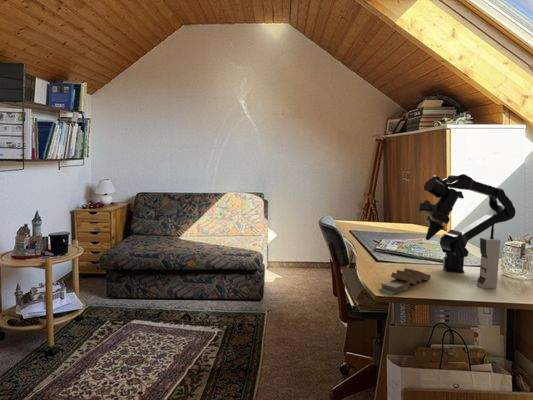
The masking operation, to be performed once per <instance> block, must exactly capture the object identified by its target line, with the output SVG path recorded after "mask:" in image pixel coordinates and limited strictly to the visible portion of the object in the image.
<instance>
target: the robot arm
mask: <svg viewBox="0 0 533 400" xmlns="http://www.w3.org/2000/svg"><path fill="white" fill-rule="evenodd" d="M423 190H424V191H425V192H426V193H428V194H430V195H431V196H433V197H435V198H436V199H438V201H437V202H436V203H434V204H433V203H431V201H429V200H428V199H426V200H424V202H419V204H418V208H417V213H420V214H421V213H423V214H424V213H425V214H429V216H427V217H426V219H425V221H424V222H425V223H427V225H428V228H427V231H426V236H425V240H426V241H430V240H431V239H432V238H433V237H434V236H435V235H436V234H438V233H439V232H440V231H441V230H442V229H444V228H445V226H448V224H449V222H450V221H451V220H450V214H451V212H452V211H453V209H454V207H455V204H456V203H457V201H458V199H462V200H463V199H464V197H465V196H464V195H463V191H460V190H464V191H465V190H466V191H471V192H474V193H478V194H481V195H484V196H488V198H489V201H488V205H489V208H488V210H487V213H486V214H485V215H483V216H482V217H480V218H478V219H477V220H475V221H473V222H472V223H470V224H469V225H466V226H464V228H462V229H460V230H455V229H449V230H448V231H447V232H446V233H443V234H442V235H443V236H441V237H440V239H439V240H440V241H439V245H440V248H441V251H442V253H444V256H443V257H442V258H443V261H442V268H443V269H444V271H446V272H450V273H451V272H453V273H465V270H464V263H465V258H468V256H469V250H468V249H467V248H466V247H467V243H468V242H469V241H471V240H472V239H473V238H475V237H476V236H479V235H480V234H482V233H483V232H484V231H486V230H488V229H489V228H492V218H493V215H495V218H494V225H496V224H499V223H505V222H507V221H510V220H513V218H514V217H515V216H516V212H517V211H516V208H515V207H514V203H513V202H512V200H511V199H510V198H509V197H508V195H506V192H505V191H504V189H502V188H499V187H497V186H496V187H495V186H492V185H489V184H485V183H482V182H479V181H476V180H474V178H473V177H471V176H469V175H468V174H465V173H464V174H463V173H450V174H449V175H448V176H447V177H446V178H444V179H441V178H440V177H439V176H438V175H432V177H431V178H429V179H428V180H427V181H426V182H425V183H424V186H423ZM444 225H445V226H444Z"/></svg>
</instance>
